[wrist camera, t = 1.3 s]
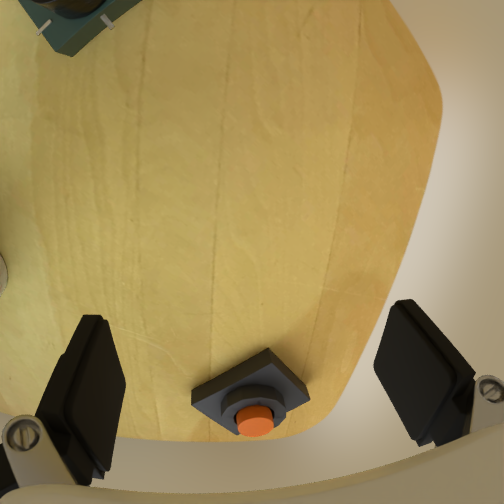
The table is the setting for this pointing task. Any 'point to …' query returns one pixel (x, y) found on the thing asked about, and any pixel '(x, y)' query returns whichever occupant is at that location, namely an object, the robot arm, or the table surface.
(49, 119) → the table surface
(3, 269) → the mug
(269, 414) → the round orange button
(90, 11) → the dial
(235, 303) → the table surface
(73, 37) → the dial panel
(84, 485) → the robot arm
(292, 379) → the push button box
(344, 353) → the table surface
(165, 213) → the table surface
